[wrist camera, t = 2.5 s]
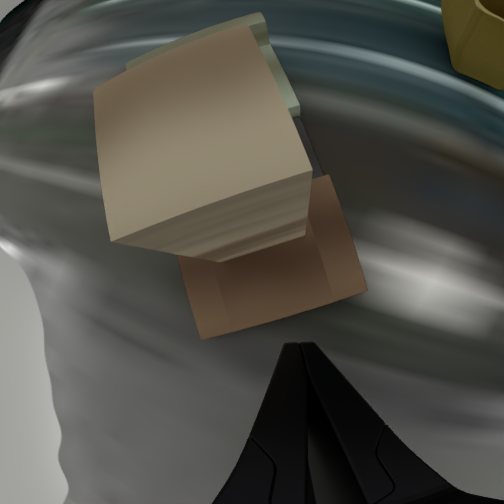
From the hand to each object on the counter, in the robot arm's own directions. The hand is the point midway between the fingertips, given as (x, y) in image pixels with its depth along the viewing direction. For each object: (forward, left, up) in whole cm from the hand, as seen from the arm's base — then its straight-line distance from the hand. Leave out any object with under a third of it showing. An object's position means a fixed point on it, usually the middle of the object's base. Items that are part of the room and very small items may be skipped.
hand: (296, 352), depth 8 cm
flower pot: (+23, -12, -11) cm, 28 cm away
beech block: (+5, +4, -9) cm, 11 cm away
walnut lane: (+7, +5, -10) cm, 14 cm away
